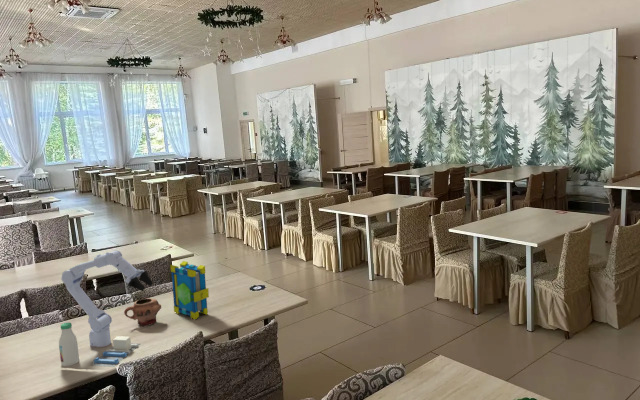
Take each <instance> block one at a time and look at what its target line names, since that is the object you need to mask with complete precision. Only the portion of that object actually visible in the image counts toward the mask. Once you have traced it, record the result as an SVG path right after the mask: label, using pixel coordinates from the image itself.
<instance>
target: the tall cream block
mask: <svg viewBox="0 0 640 400" xmlns="http://www.w3.org/2000/svg"><path fill="white" fill-rule="evenodd" d="M131 343H132V342H131V336H125V335H123V336H121V335H117V336H115V338H113V339H112V345H113V347H114V349H115V350H129V349H131ZM113 347H112V348H113Z"/></svg>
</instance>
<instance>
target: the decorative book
mask: <svg viewBox="0 0 640 400" xmlns="http://www.w3.org/2000/svg"><path fill="white" fill-rule="evenodd" d="M170 273H171V282H172V284H171V285H172V295H173V296H172V297H173V312H176V313H178V314H177V315H180V314H183V315H186V316H189V317H190V319H191V318H193V319H192V320H194V319H196V320H197V319H198V318H199V317H200V314H204V315H207V313H208V310H209V309H208V301H207V299H208V298H210V295H209V293H210V292H209V288H208V287H207V286H206V266H205V265H203V264H199V265H198V266H196V264H191V263H190V264H189V262H188V261H185V260H183V261H182V262H180V264H179V266H177V265H173V264H170ZM176 313H175V314H176ZM208 314H209V313H208Z"/></svg>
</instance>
